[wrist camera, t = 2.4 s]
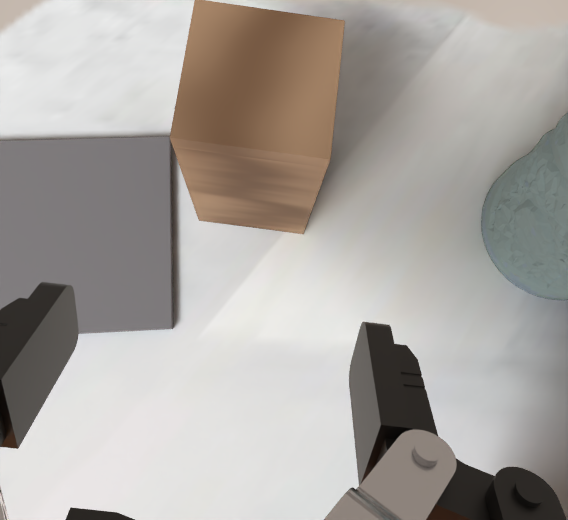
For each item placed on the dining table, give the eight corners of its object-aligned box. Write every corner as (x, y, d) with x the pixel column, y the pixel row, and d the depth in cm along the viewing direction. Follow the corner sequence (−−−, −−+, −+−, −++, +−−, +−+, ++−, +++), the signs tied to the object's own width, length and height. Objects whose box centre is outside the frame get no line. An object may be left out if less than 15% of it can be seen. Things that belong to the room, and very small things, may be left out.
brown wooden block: (313, 138, 30) (344, 20, 20) (303, 234, 29) (330, 159, 19) (214, 124, 30) (195, -2, 20) (198, 220, 29) (169, 137, 19)
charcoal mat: (171, 141, 30) (169, 136, 29) (173, 328, 27) (171, 327, 27) (-42, 146, 29) (-48, 141, 28) (-59, 340, 26) (-66, 340, 26)
